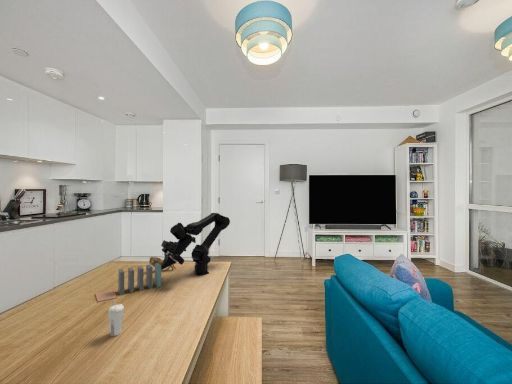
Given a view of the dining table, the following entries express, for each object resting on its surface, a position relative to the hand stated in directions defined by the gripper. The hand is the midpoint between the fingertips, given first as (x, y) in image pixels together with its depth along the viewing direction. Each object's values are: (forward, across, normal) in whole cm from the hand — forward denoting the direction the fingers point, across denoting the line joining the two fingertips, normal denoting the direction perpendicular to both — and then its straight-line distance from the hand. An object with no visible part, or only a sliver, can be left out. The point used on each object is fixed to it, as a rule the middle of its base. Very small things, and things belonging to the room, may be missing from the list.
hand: (160, 269), depth 123 cm
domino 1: (+18, 0, -7) cm, 19 cm away
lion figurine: (0, -20, +10) cm, 22 cm away
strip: (+22, 0, -11) cm, 24 cm away
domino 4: (+9, 0, +2) cm, 9 cm away
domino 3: (+12, 0, -1) cm, 12 cm away
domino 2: (+15, 0, -4) cm, 15 cm away
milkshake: (+23, +34, -12) cm, 42 cm away
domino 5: (+6, 0, +5) cm, 8 cm away
